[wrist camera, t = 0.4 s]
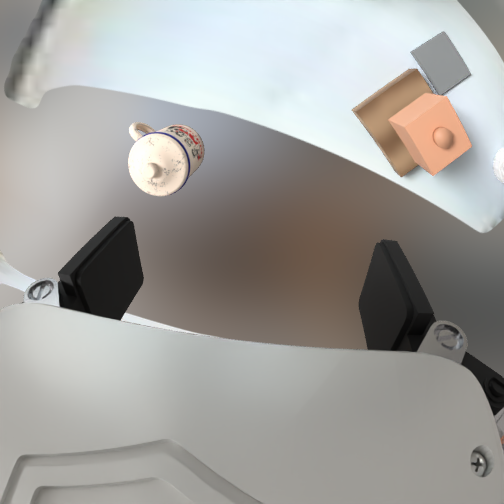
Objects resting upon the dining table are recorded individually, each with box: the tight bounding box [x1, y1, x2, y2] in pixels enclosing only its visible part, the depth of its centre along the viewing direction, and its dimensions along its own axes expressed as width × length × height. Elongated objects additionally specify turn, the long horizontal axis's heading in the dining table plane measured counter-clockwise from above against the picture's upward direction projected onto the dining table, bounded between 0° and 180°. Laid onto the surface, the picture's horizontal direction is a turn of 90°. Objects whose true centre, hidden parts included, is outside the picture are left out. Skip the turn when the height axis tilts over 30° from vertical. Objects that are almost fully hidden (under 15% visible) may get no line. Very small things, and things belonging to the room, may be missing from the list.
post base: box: [352, 69, 433, 177], centre depth 32 cm, size 12×12×11 cm
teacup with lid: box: [128, 122, 204, 196], centre depth 39 cm, size 12×9×12 cm
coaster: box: [410, 32, 471, 95], centre depth 30 cm, size 8×8×1 cm
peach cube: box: [388, 93, 472, 176], centre depth 28 cm, size 7×7×7 cm
